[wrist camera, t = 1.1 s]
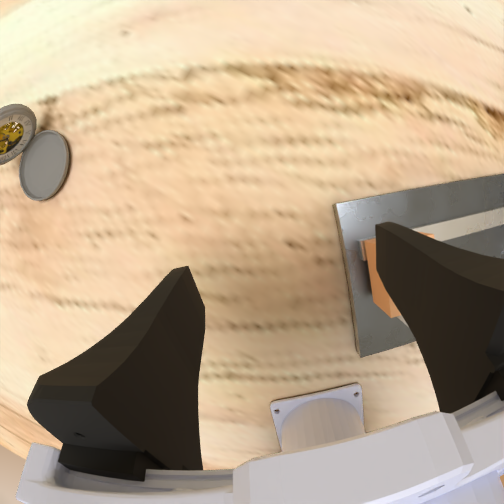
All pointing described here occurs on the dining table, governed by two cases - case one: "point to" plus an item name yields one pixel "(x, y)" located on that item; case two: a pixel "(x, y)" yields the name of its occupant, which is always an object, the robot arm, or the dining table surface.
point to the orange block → (378, 289)
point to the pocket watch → (33, 152)
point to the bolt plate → (420, 220)
